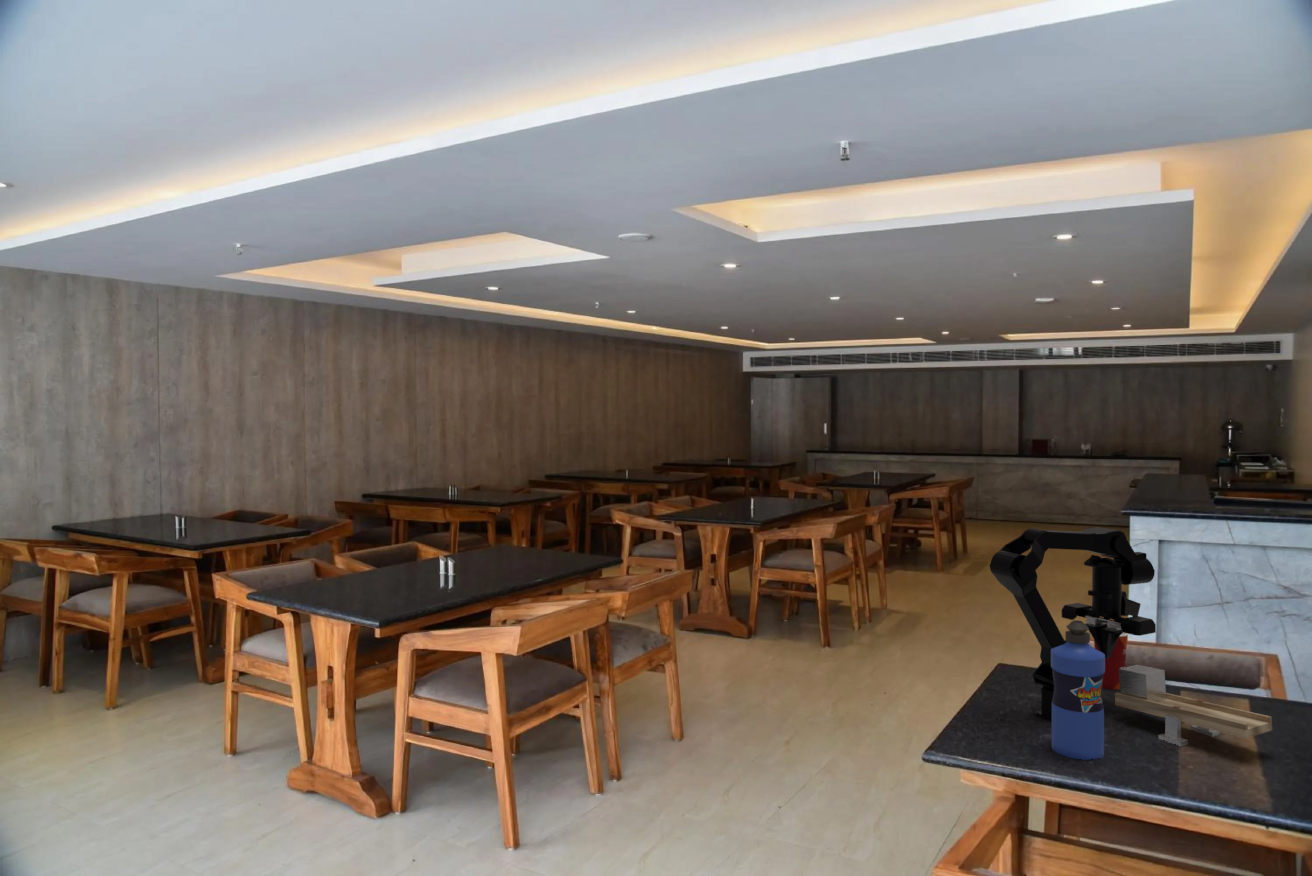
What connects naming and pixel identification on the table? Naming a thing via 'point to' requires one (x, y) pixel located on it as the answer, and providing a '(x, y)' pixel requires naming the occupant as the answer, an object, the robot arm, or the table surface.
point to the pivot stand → (1174, 731)
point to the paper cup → (1114, 663)
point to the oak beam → (1201, 714)
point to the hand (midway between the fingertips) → (1106, 657)
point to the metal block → (1143, 682)
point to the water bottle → (1077, 696)
